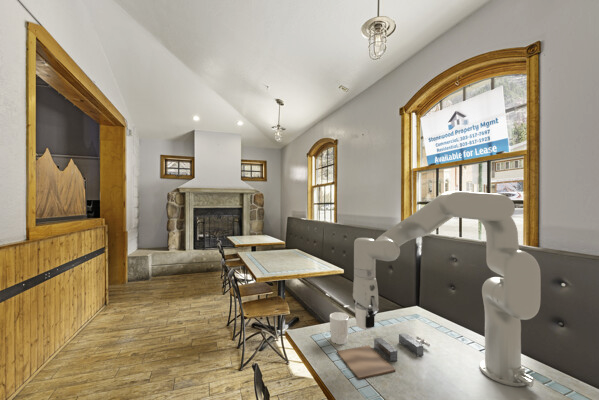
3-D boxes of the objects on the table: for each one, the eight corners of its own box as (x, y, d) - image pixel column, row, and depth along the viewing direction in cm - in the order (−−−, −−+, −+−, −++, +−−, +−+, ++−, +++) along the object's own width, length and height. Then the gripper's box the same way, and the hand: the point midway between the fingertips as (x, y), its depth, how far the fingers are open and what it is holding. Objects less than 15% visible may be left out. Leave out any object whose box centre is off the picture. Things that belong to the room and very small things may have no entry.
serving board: (395, 371, 89) (395, 369, 89) (358, 379, 85) (358, 377, 85) (369, 346, 105) (369, 345, 105) (336, 352, 100) (336, 351, 100)
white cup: (334, 346, 105) (334, 321, 105) (326, 336, 112) (326, 313, 112) (352, 343, 107) (352, 318, 107) (343, 334, 114) (344, 311, 114)
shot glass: (372, 321, 98) (372, 302, 98) (375, 330, 91) (376, 310, 91) (353, 320, 99) (353, 301, 99) (355, 329, 92) (355, 309, 92)
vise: (434, 352, 101) (434, 343, 101) (390, 361, 95) (390, 352, 95) (415, 339, 110) (415, 331, 110) (374, 347, 104) (374, 338, 104)
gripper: (388, 278, 88) (388, 332, 88) (361, 266, 105) (360, 312, 104) (368, 280, 86) (368, 336, 86) (344, 267, 102) (343, 314, 102)
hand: (364, 322), depth 95 cm, fingers closed on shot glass, 6 cm apart
